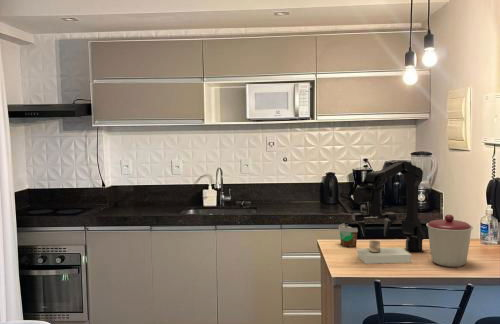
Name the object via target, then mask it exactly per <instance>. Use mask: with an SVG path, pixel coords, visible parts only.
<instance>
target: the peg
mask: <svg viewBox="0 0 500 324" xmlns="http://www.w3.org/2000/svg"><path fill="white" fill-rule="evenodd" d="M368 248H369V252H371V253H380V248H381V241H380V240H369V247H368Z"/></svg>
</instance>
